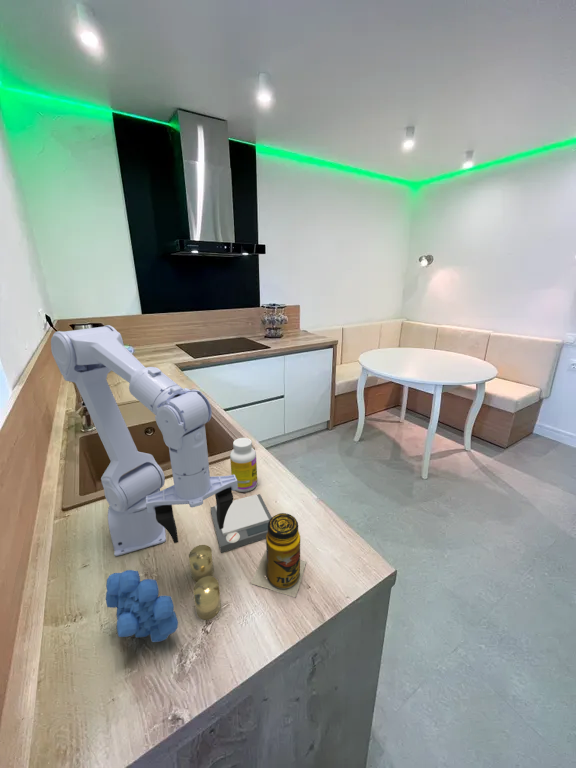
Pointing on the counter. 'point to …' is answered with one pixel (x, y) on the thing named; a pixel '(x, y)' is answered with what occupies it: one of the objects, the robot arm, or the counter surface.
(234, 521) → the scale
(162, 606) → the grapes
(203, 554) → the cylinder
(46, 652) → the counter surface
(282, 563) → the condiment
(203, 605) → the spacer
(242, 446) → the supplement bottle
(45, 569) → the counter surface
